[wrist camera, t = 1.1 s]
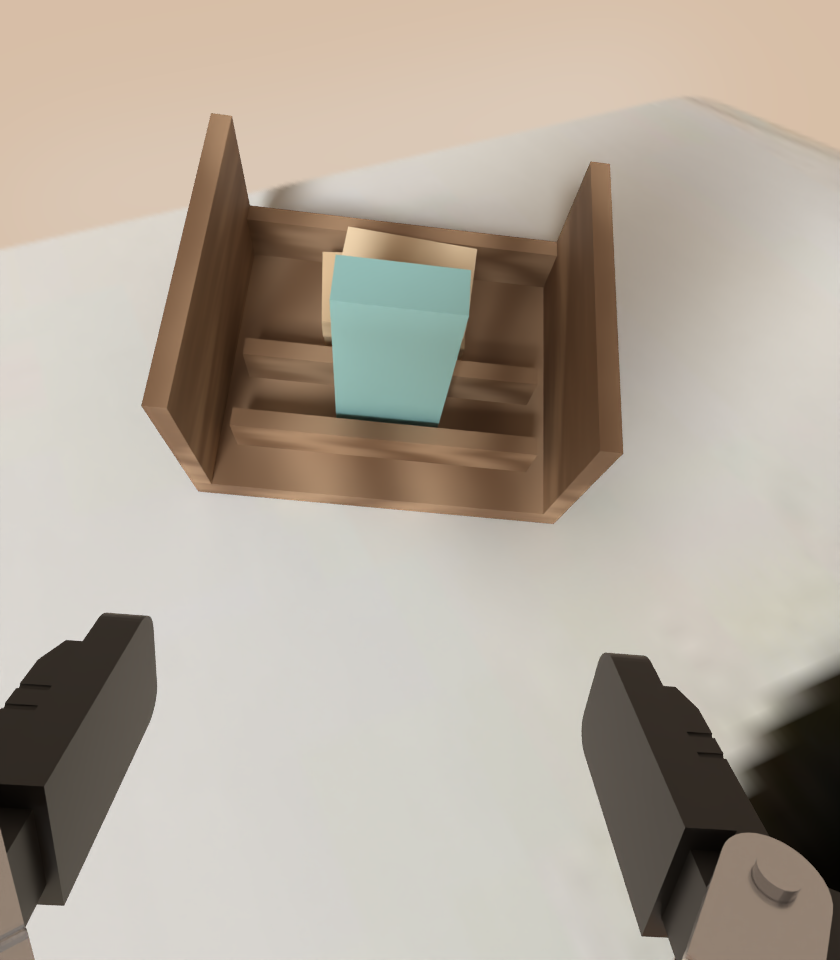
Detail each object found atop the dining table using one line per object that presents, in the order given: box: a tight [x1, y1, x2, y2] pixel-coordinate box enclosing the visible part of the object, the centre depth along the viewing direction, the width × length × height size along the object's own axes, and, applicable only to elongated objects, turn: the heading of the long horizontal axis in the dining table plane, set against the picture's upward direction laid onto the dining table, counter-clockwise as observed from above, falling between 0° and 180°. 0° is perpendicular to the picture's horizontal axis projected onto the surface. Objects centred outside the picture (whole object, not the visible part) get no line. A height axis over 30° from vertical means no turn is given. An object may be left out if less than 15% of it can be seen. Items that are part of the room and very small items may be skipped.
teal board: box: [329, 255, 471, 428], centre depth 32 cm, size 6×2×12 cm, turn 86°
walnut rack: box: [141, 113, 623, 524], centre depth 35 cm, size 20×16×10 cm
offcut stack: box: [322, 227, 477, 360], centre depth 38 cm, size 9×5×4 cm, turn 86°
